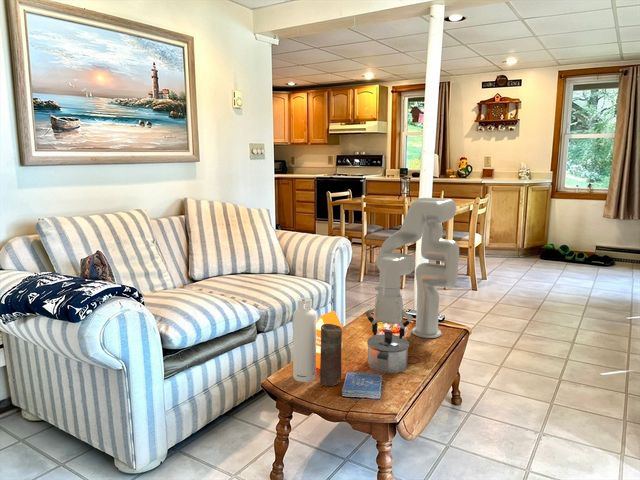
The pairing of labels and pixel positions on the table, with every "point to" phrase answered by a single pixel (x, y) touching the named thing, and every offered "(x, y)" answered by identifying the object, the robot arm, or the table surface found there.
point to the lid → (388, 343)
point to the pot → (387, 361)
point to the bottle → (304, 341)
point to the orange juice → (324, 319)
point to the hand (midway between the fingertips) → (388, 335)
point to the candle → (330, 354)
